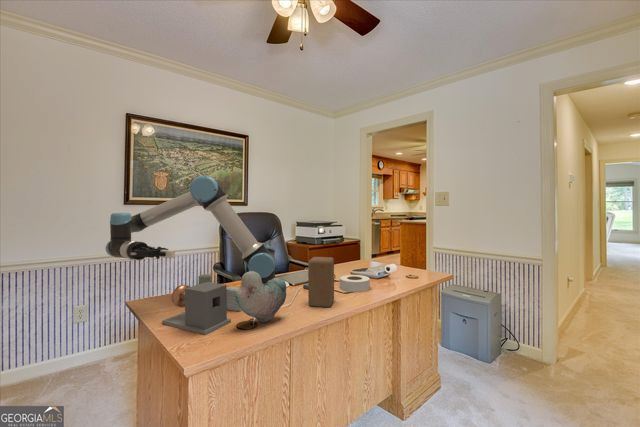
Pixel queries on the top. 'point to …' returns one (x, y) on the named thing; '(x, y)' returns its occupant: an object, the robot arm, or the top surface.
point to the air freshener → (205, 278)
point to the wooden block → (321, 281)
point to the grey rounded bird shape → (260, 296)
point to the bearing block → (202, 309)
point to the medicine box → (232, 299)
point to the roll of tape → (354, 283)
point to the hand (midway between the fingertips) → (173, 254)
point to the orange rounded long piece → (179, 296)
